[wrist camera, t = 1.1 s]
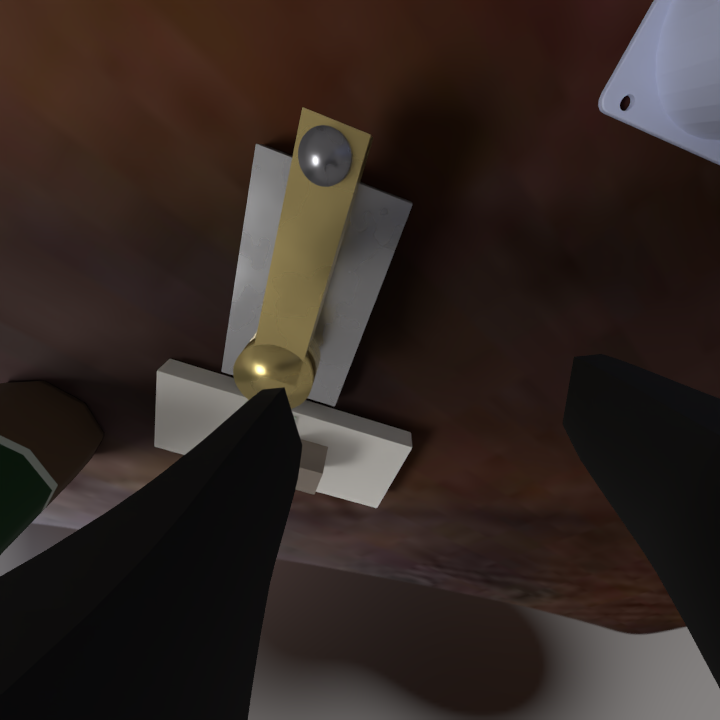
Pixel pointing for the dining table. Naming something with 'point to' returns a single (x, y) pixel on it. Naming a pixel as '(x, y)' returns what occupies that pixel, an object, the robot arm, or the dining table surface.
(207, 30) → the dining table surface
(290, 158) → the plate
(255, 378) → the latch arm
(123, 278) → the dining table surface
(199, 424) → the door board
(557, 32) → the dining table surface
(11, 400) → the beer bottle
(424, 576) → the dining table surface
